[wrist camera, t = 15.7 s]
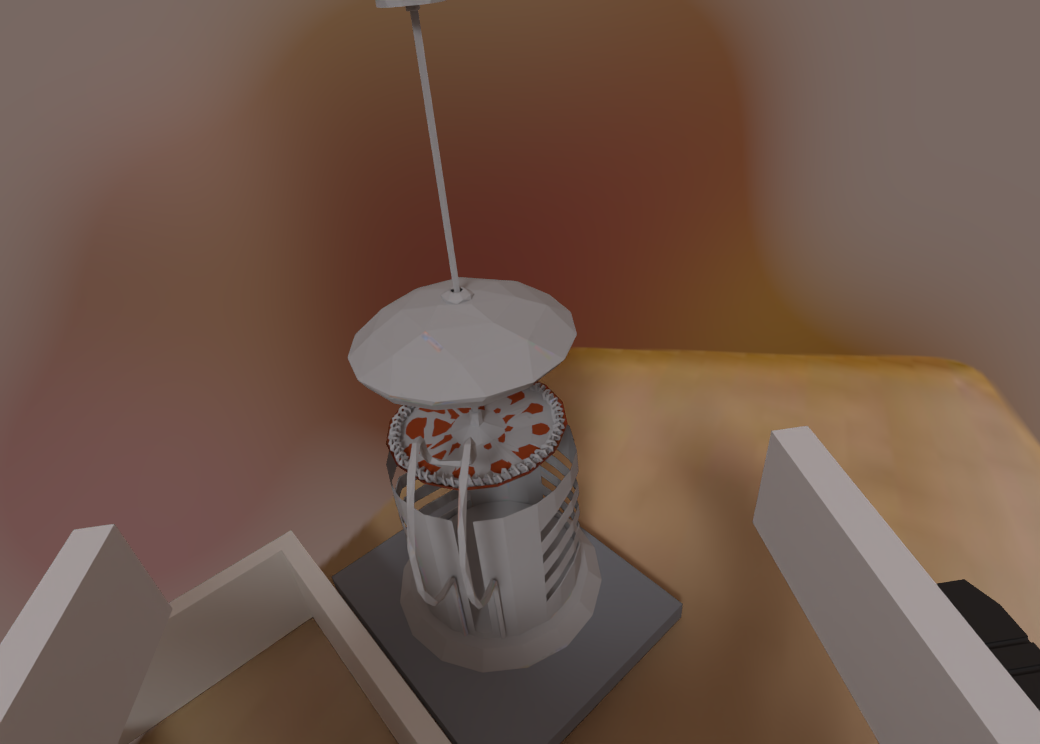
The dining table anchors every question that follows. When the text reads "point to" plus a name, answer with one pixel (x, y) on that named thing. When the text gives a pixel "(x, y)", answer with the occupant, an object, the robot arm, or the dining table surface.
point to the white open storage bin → (268, 640)
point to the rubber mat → (516, 692)
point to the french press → (480, 458)
